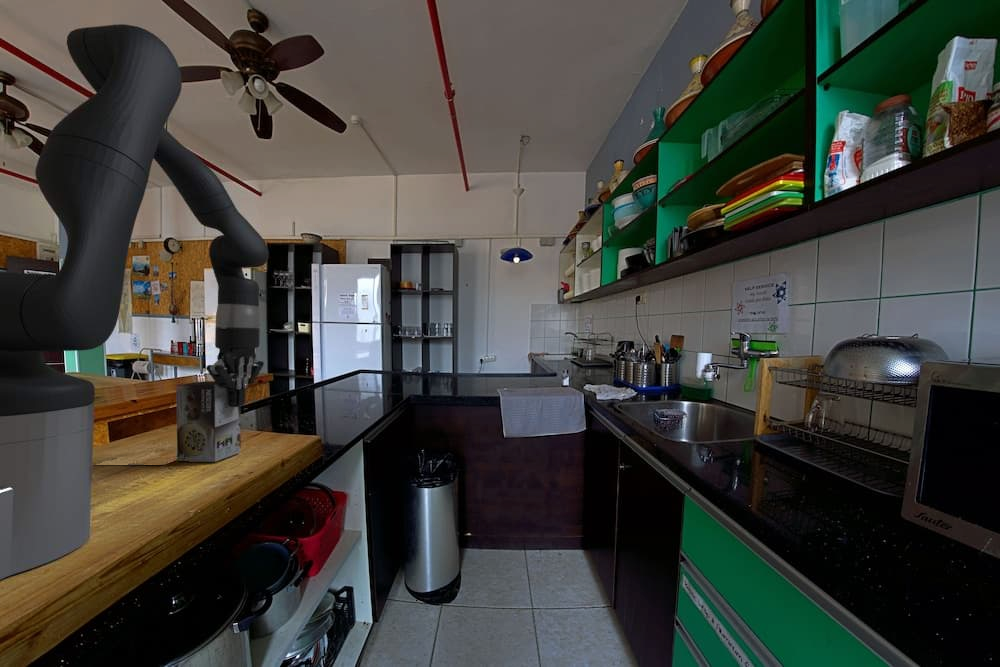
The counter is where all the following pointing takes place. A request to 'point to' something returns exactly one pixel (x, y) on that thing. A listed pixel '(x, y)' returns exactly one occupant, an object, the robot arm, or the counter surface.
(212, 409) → the coffee box
